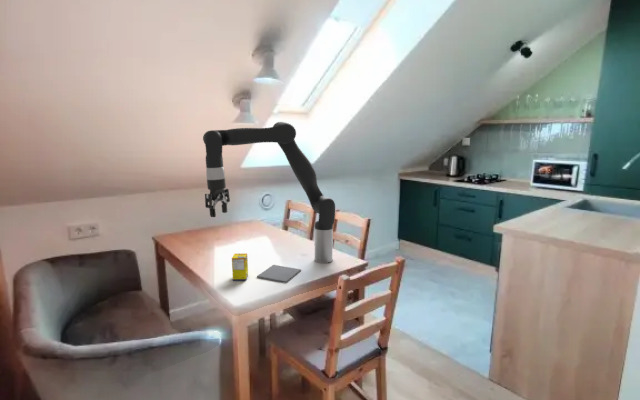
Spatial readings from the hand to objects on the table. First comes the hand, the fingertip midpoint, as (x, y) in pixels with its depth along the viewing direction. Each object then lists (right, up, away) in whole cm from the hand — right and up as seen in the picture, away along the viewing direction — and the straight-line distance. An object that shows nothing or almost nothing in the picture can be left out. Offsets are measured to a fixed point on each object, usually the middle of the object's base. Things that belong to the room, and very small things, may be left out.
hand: (219, 214), depth 161 cm
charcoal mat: (+25, -28, +11) cm, 39 cm away
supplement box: (+8, -29, +7) cm, 31 cm away
